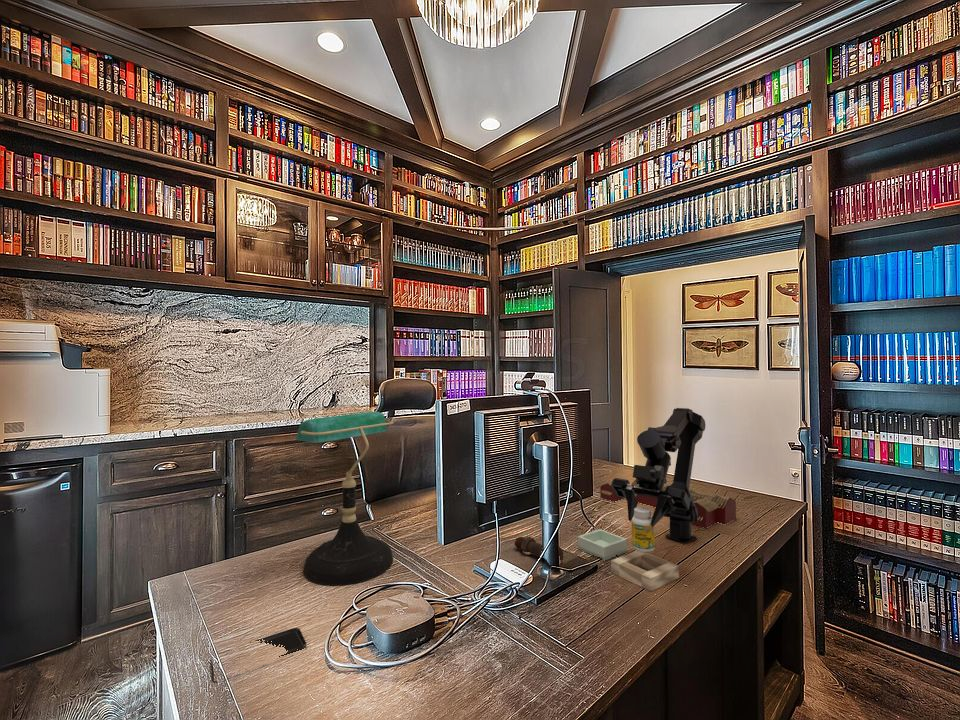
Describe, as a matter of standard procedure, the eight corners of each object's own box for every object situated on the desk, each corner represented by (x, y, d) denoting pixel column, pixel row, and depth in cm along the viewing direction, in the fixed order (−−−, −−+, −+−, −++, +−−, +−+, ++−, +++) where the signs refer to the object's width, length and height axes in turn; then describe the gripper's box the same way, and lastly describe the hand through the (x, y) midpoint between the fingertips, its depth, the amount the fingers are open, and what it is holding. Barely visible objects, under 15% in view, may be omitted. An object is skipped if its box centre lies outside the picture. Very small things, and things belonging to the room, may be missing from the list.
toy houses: (739, 518, 149) (739, 489, 149) (712, 533, 136) (711, 501, 136) (623, 490, 184) (623, 466, 184) (593, 500, 171) (593, 474, 172)
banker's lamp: (360, 538, 134) (360, 408, 135) (415, 557, 121) (414, 412, 122) (278, 572, 113) (278, 417, 113) (334, 599, 99) (333, 423, 100)
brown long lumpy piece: (520, 554, 127) (559, 571, 115) (508, 549, 124) (547, 566, 112) (526, 534, 129) (566, 548, 117) (515, 529, 126) (554, 543, 114)
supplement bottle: (654, 544, 111) (653, 507, 112) (655, 553, 106) (654, 514, 106) (631, 542, 113) (631, 505, 113) (632, 550, 108) (631, 512, 108)
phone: (307, 646, 82) (213, 679, 73) (307, 652, 82) (213, 686, 73) (298, 626, 88) (211, 654, 80) (298, 631, 88) (211, 660, 80)
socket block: (639, 560, 117) (639, 549, 117) (679, 577, 108) (678, 565, 108) (611, 572, 111) (611, 560, 111) (651, 591, 101) (650, 578, 101)
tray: (600, 540, 131) (600, 529, 131) (627, 551, 123) (627, 539, 123) (577, 548, 126) (577, 536, 126) (604, 560, 118) (604, 547, 118)
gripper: (613, 448, 119) (594, 498, 111) (685, 457, 107) (671, 514, 98) (625, 471, 125) (609, 520, 117) (695, 482, 113) (683, 538, 104)
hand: (640, 522), depth 109 cm, fingers closed on supplement bottle, 5 cm apart
